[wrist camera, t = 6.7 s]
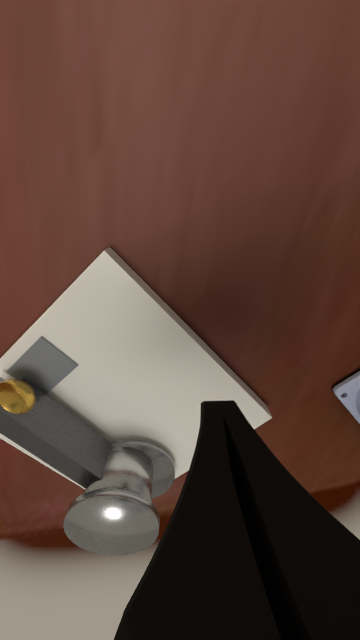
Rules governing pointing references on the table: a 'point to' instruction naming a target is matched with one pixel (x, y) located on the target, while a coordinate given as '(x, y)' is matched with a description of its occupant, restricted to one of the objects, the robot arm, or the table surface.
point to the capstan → (91, 471)
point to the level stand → (126, 363)
